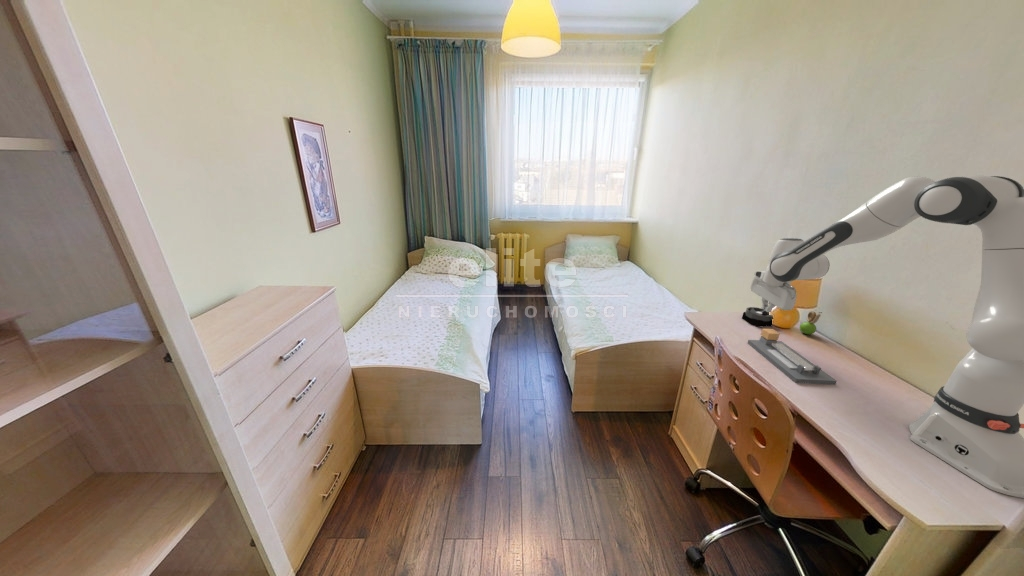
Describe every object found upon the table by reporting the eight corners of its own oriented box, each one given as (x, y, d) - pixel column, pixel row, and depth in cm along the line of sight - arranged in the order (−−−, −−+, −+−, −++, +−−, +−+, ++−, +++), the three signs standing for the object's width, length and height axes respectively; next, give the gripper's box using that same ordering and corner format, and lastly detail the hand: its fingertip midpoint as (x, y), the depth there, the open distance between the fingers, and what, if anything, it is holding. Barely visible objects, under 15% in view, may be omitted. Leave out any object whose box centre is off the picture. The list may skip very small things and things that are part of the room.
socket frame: (835, 384, 109) (839, 374, 108) (795, 382, 110) (799, 372, 108) (780, 344, 133) (783, 335, 132) (747, 342, 134) (750, 334, 132)
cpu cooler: (741, 306, 155) (761, 306, 156) (738, 317, 157) (757, 317, 158) (758, 316, 145) (779, 315, 146) (754, 327, 147) (775, 327, 148)
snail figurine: (803, 336, 140) (813, 311, 135) (795, 329, 145) (804, 305, 141) (818, 338, 138) (828, 312, 134) (809, 331, 144) (818, 306, 140)
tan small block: (777, 340, 129) (779, 333, 128) (767, 339, 129) (769, 333, 128) (770, 335, 133) (772, 329, 132) (760, 334, 133) (762, 328, 132)
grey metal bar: (815, 372, 112) (816, 368, 111) (803, 371, 112) (805, 368, 111) (780, 345, 127) (782, 342, 127) (770, 345, 127) (771, 342, 127)
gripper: (806, 289, 118) (793, 322, 123) (768, 270, 136) (757, 300, 142) (788, 288, 118) (775, 322, 123) (752, 269, 137) (742, 299, 142)
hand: (765, 310), depth 132 cm, fingers closed
